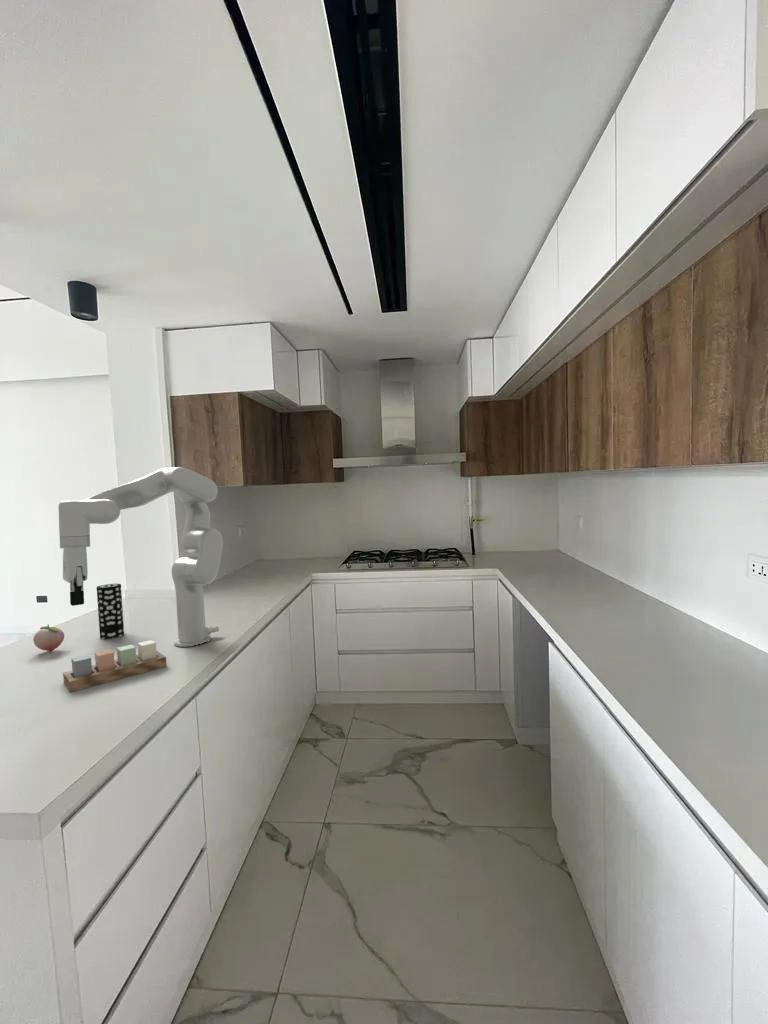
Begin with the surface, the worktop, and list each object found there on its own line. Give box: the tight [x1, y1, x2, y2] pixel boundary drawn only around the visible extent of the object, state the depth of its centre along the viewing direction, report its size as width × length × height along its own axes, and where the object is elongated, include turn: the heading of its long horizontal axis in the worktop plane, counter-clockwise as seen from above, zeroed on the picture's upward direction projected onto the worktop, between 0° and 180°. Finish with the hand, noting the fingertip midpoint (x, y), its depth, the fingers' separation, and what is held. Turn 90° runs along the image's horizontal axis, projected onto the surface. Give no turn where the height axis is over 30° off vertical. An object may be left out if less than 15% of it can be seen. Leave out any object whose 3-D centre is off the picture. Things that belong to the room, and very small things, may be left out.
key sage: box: [116, 644, 137, 666], centre depth 148 cm, size 4×4×5 cm
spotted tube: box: [96, 583, 125, 640], centre depth 186 cm, size 8×8×20 cm
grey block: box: [70, 654, 92, 678], centre depth 140 cm, size 4×4×5 cm
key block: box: [62, 649, 168, 693], centre depth 146 cm, size 26×10×3 cm, turn 133°
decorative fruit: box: [32, 623, 65, 652], centre depth 169 cm, size 9×8×10 cm
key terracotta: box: [94, 649, 115, 672], centre depth 144 cm, size 4×4×5 cm
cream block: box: [137, 639, 157, 661], centre depth 152 cm, size 4×4×5 cm
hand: (77, 604), depth 139 cm, fingers closed
